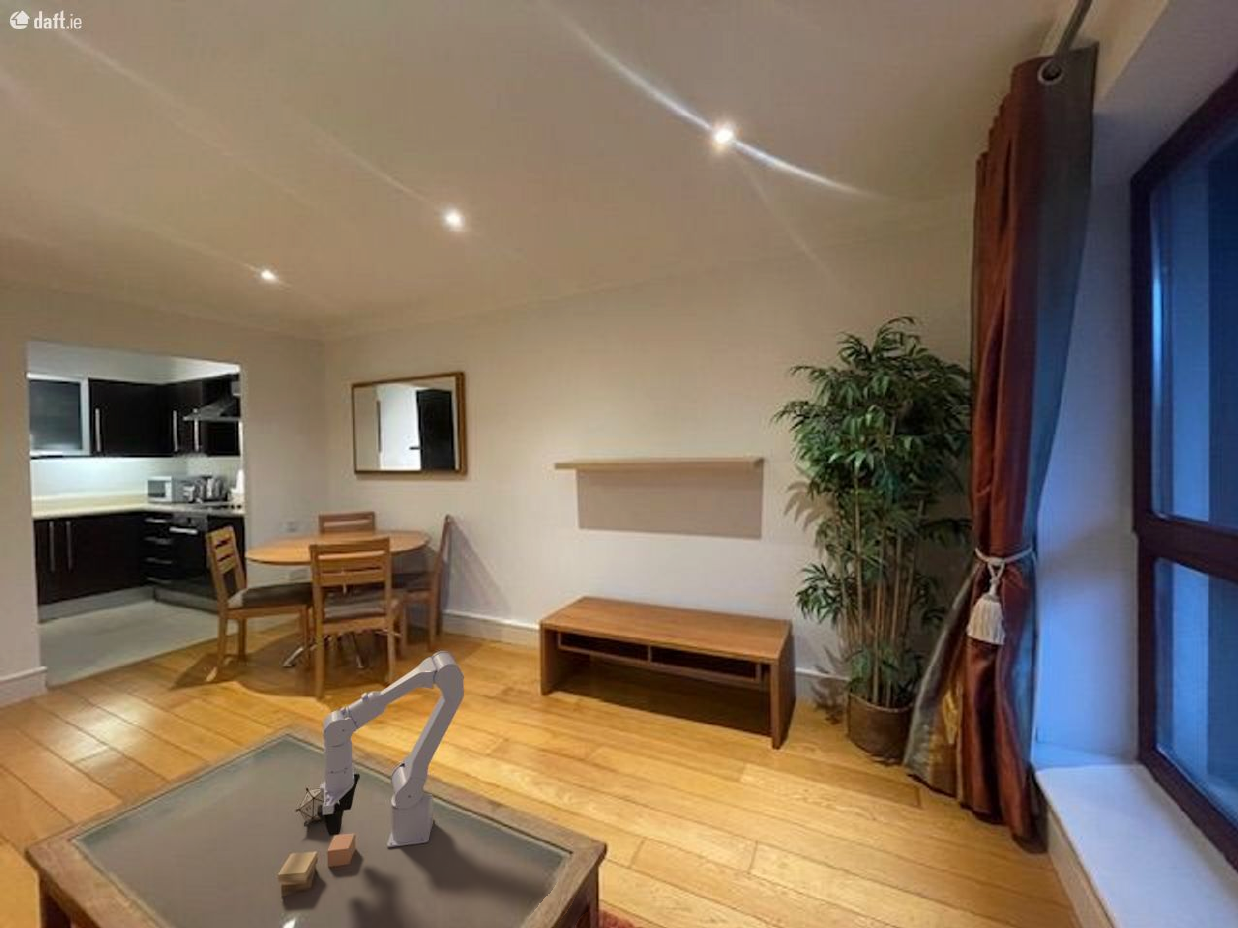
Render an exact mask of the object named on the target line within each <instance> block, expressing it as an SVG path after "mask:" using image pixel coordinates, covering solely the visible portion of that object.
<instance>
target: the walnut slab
mask: <svg viewBox="0 0 1238 928" xmlns="http://www.w3.org/2000/svg"><path fill="white" fill-rule="evenodd" d="M316 871H317V865H316V866H315V868H314V869H313V871H312V873H311V875H310V876H309V878H308V880H307V882H306V883H303V884H291V885H280V891H281V892H280V894H281V897H282V898H283V897H286V896H290V895H294V894H297V893H301V892H306V891H308V890H311V889H312V887H313V882H314V878H315V874H316Z"/></svg>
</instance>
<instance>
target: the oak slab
mask: <svg viewBox="0 0 1238 928" xmlns="http://www.w3.org/2000/svg"><path fill="white" fill-rule="evenodd" d="M318 858H319V857H318V851H306V852H305V851H304V852H293V853H291V854H290V855H289V856H288V858H287V859H286V861H285V863H284V864H283V866H282V867H281V869H280V870H279V872H278V874H277V878H278V879H277V881H278V886H279V887H281V886H282V885H291V884H303V883H306V882H307V880H308V878H309V876H310V875H311V873H312V871H313V869H314V868H315V866H316V867H317V864H318V862H319V861H318Z"/></svg>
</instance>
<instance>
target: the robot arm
mask: <svg viewBox="0 0 1238 928" xmlns="http://www.w3.org/2000/svg"><path fill="white" fill-rule="evenodd" d="M464 679H465V675H464V674H463V672H462V669H461V668H460V667H459V666H458V664H457V662H456V660H455V658H454V656H453V655H452V653H450V652H449V651H447V650H441V651H438V652H435V653H434V654H433V655H432V656H429V657H427V658H425V659H424V660H423V661H422V662H421V663H420V664H419V665H417V666H416V667H415V668H414V669H412V670H410V671H409V672H408V673H406V674H405V675H403V676H402V677H400V678H399V679H398V680H396V681H394V682H393V683H391V684H390V685H389V686H387V687H386V688H384V689H383V690H381V691H376V690H375V691H373V690H372V691H370V692H369V693H367V692H364V693H362V694H361V695H360V696H361V698H359V699H357V700H355V701H353V702H352V703H350V704H349V705H347V706H343V707H342V708H340V709H339V710H338V709H337V710H334V711H332V712H330V713H329V714H328V715H326V718H325V719H324V720H323V722H322V724H321V725H322V733H323V735H322V736H323V741H324V742H323V746H324V748H323V762H324V765H323V766H324V782H322V783H321V784H320V786H319V788H320V791H324V804H323V805H320V806H319V808H318V810H317V814H318V816H319V817H320V818H321V819H320V820H321V821H323V823H324V825H325V828H326V830H327V833H328V835H329V837H330V836H335V835H340V833H341V829H342V823H343V816H344V811H350V810H351V809H352V806H353V801H354V796H355V791H356V788H357V784H358V783H359V780H360V778H361V774H360V773H354V772H355V763H354V762H353V761H354V760H353V742H352V740H351V739H352V737H353V734H354V733H356V731H357V730H359V729H360V728H362V727H364V726H365V725H366V724H368V723H370V722H371V721H373V720H375V719H376V718H378V717H379V716H381V715H382V714H384V713H385V710H386V708H387V706H388V705H390V704H391V703H393V702H395V701H396V700H398V699H400V698H401V697H403V696H406V695H407V694H409V693H411V692H412V691H414V690H416V689H417V688H426V689H431V690H433V689H435V687H434V685H436V687H437V688H438V689H439V691H440V692H441V695H440V696H439V698H438V700H437V703H436V704H435V706H434V708H433V710H432V712H431V713H430V716H429V717H428V720H427V722H426V723H425V725H424V727H423V729H422V731H421V733H420V735H419V736H418V738H417V740H416V742H415V744H414V746H413V748H412V750H411V752H410V754H408V755H405V756H404V758H403V759H402V760H401V762H400V763H399V764H398V765H397V766H395V768H394V769H393V770H392V772H391V775H390V783H391V785H392V789H393V794H392V797H391V800H390V806H391V808H390V809H391V811H390V812H391V813H390V814H391V815H390V816H391V831H390V835H389V837H388V840H387V843H386V847H387V848H392V847H400V846H407V845H409V846H410V845H417V844H423V843H428V842H429V839H430V836H431V831H432V828H433V826H434V825H433V824H434V820H433V819H434V817H435V816H434V796H433V794H431V793H425V792H424V787H425V784H426V782H427V779H428V770H429V766H430V763H431V761H432V759H433V758H434V755H435V754H436V751H437V750H438V748H439V746H440V744H441V742H442V740H443V738H444V736H445V735H446V732H447V731H448V728H449V726H450V725H451V722H452V721H453V719H454V717H455V715H456V714H457V711H458V709H459V707H460V705H461V703H462V701H463V700H464V696H465V689H464V688H465V687H464V685H465V684H464Z"/></svg>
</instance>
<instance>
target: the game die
mask: <svg viewBox="0 0 1238 928" xmlns="http://www.w3.org/2000/svg"><path fill="white" fill-rule="evenodd" d="M305 791H306V793H305V794H304V797H303V798H302V801H301V803H300V806H299V808H297V809H295V810H294V812H297V813H298V812H299V813H300V815H301V816H302V818H303V819H304V821H303V822H304V823H303V826H305V825H306V824H307V823H308V822H313V821H317V820H322V819H321V818H320V817H319V816H318V814H317V810H318V808H319V806H320V805H323V804H324V791H320V787H318V788H312V789H311V788H310V789H309V788H308V787H305Z"/></svg>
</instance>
